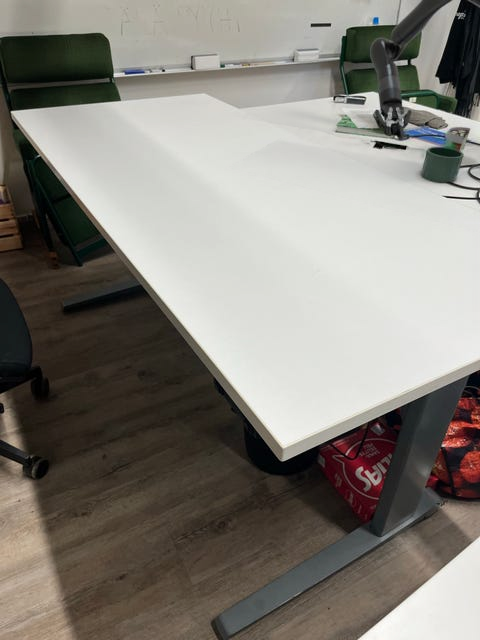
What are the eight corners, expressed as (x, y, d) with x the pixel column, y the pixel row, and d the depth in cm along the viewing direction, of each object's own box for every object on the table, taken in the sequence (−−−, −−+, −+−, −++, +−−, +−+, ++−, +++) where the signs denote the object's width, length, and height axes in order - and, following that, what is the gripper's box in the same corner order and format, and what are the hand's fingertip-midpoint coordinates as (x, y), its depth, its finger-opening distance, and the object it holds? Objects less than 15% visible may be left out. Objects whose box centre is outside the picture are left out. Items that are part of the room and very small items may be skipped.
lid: (408, 143, 173) (413, 122, 168) (404, 151, 165) (409, 130, 160) (377, 139, 176) (382, 118, 172) (372, 147, 168) (376, 125, 163)
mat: (408, 144, 173) (408, 143, 173) (404, 153, 165) (404, 152, 164) (377, 140, 176) (378, 139, 176) (372, 148, 168) (372, 147, 168)
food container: (442, 154, 164) (451, 124, 158) (460, 158, 161) (470, 127, 155) (434, 165, 155) (443, 133, 149) (453, 169, 153) (463, 137, 147)
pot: (456, 174, 149) (464, 150, 145) (455, 184, 141) (463, 159, 137) (422, 168, 152) (428, 144, 148) (419, 178, 144) (425, 154, 140)
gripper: (374, 86, 165) (380, 132, 162) (413, 86, 166) (419, 132, 164) (366, 99, 172) (371, 143, 170) (403, 99, 174) (409, 143, 171)
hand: (395, 138), depth 167 cm, fingers open, 3 cm apart
